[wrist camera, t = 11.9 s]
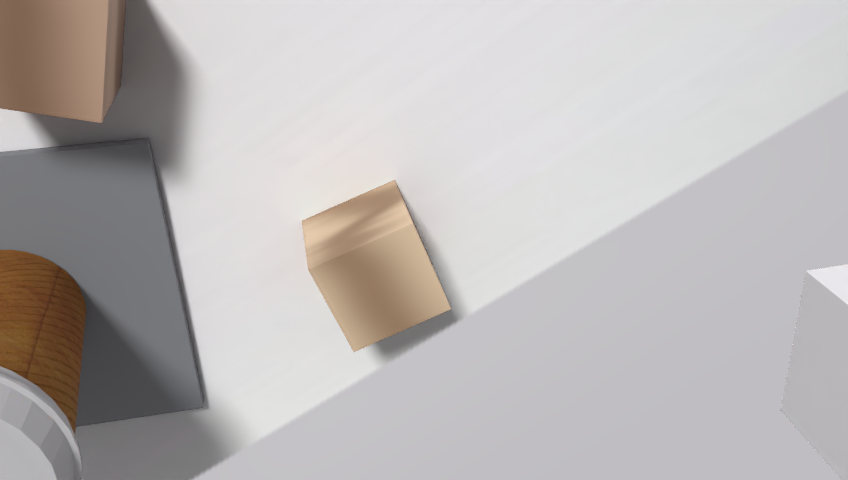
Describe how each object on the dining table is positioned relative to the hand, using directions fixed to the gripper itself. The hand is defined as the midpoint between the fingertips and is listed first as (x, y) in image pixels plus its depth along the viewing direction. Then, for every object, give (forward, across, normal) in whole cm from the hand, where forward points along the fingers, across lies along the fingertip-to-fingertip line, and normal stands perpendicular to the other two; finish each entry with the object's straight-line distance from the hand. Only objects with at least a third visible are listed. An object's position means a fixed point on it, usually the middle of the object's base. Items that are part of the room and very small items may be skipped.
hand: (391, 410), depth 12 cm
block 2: (+26, -1, +10) cm, 28 cm away
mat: (+25, +16, +11) cm, 32 cm away
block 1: (+25, +10, -2) cm, 27 cm away
